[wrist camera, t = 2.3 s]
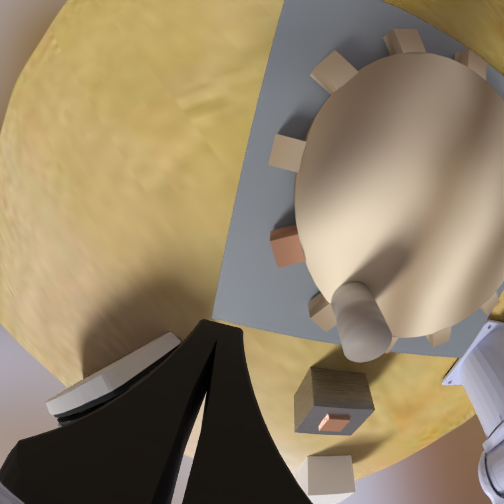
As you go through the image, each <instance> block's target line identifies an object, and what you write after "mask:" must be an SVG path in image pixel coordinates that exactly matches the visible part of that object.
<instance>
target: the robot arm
mask: <svg viewBox="0 0 504 504" xmlns="http://www.w3.org/2000/svg"><path fill="white" fill-rule="evenodd" d="M442 384H443V385H463V387H464V389H465V391H466V393H467V395H468V397H469V399H470V401H471V403H472V405H473V407H474V409H475V411H476V414H477V416H478V418H479V420H480V422H481V425H482V427H483V429H484V431H485V434H486V436H487V439H488V440H487V441H485V442H484V443H483V446H484V449H485V450H484V451H483V453H482V454H481V457H480V462H479V466H478V475H479V480H480V484H481V486H482V488H483V490H484V492H485V493H486V495H487V496H489V498H490V499H491V501H492V503H493V504H504V322H500V321H495V320H489V319H487V320H486V322H485V323H484V325H483V327H482V328H481V330H480V332H479V333H478V335H477V336H476V338H475V339H474V341H473V342H472V344H471V345H470V347H469V348H468V350H467V351H466V352H465V354H464V355H463V357H462V358H459V359H458V361H457V362H456V363H455V365H454V366H453V367H452V369H451V370H450V371H449V373H448V374H447V375H446V376H445V378H444V379H443V380H442ZM206 391H207V392H206ZM205 394H206V399H205V406H204V413H203V420H202V427H201V433H200V436H199V440H198V444H197V448H196V452H195V456H194V460H193V464H192V467H191V471H190V475H189V479H188V483H187V487H186V491H185V494H184V498H183V502H182V504H313V503H312V502H311V500H310V499H309V498H308V496H307V495H306V494H305V492H304V491H303V490H302V488H301V487H300V485H299V484H298V483H297V481H296V479H295V478H294V476H293V475H292V473H291V471H290V470H289V468H288V467H287V465H286V463H285V462H284V460H283V458H282V457H281V455H280V453H279V451H278V449H277V447H276V445H275V443H274V441H273V439H272V437H271V435H270V433H269V431H268V429H267V426H266V424H265V422H264V419H263V417H262V414H261V411H260V409H259V406H258V403H257V400H256V397H255V394H254V391H253V387H252V384H251V380H250V376H249V372H248V368H247V363H246V358H245V352H244V343H243V331H242V329H241V328H238V327H233V326H229V325H225V324H221V323H217V322H213V321H209V320H205V319H203V320H200V321H199V323H198V324H197V325H196V327H195V328H194V329H193V331H192V332H191V333H190V334H189V335H188V337H187V338H186V339H185V340H184V341H183V342H182V343H181V344H180V345H179V346H178V347H177V348H176V349H175V350H174V351H173V352H172V353H171V354H170V355H169V356H168V357H167V358H166V359H165V360H164V361H163V362H162V363H161V364H160V365H159V366H158V367H156V368H155V369H154V370H153V371H152V372H151V373H149V374H148V375H147V376H146V377H145V378H143V379H142V380H141V381H140V382H138V383H137V384H136V385H134V386H133V387H132V388H130V389H129V390H127V391H126V392H125V393H123V394H122V395H120V396H119V397H117V398H115V399H114V400H112V401H111V402H109V403H107V404H106V405H104V406H102V407H101V408H99V409H97V410H95V411H94V412H92V413H90V414H88V415H86V416H84V417H81V418H79V419H77V420H75V421H73V422H71V423H68V424H66V425H64V426H62V427H59V428H57V429H54V430H51V431H48V432H45V433H42V434H39V435H36V436H32V437H29V438H26V439H22V440H20V441H18V443H17V444H16V446H15V447H14V448H13V449H12V450H11V452H10V453H9V455H8V457H7V458H6V460H5V462H4V464H3V466H2V467H1V469H0V504H171V500H172V497H173V493H174V489H175V485H176V481H177V477H178V473H179V469H180V465H181V462H182V458H183V454H184V451H185V448H186V445H187V442H188V439H189V436H190V434H191V431H192V428H193V426H194V423H195V421H196V418H197V415H198V413H199V410H200V407H201V405H202V402H203V399H204V397H205Z"/></svg>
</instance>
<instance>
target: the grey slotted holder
mask: <svg viewBox="0 0 504 504" xmlns="http://www.w3.org/2000/svg"><path fill="white" fill-rule="evenodd" d="M180 343H181V341H180V340H179V339H178V338H177V337H176V336H175V335H174V334H173V333H171V332H170V331H169V332H168V333H166V334H164V335H162V336H161V337H159V338H157V339H155V340H154V341H152V342H150V343H148V344H146V345H145V346H143V347H141V348H139V349H137V350H136V351H134V352H132V353H130V354H128V355H127V356H125V357H123V358H121V359H119V360H118V361H116V362H114V363H112V364H110V365H108V366H107V367H105V368H103V369H101V370H99V371H97V372H96V373H94V374H92V375H90V376H88V377H86V378H84V379H83V380H81V381H79V382H78V383H76V384H74V385H73V386H71V387H69V388H68V389H66V390H64V391H63V392H61V393H60V394H58V395H56V396H54V397H53V398H51V399H49V400H48V401H46V402H45V403H46V406H47V408H48V410H49V412H50V414H52V415H54V416H55V417H57V418H58V419H57V420H58V422H59V423H58V426H59V427H62V426H64V425H66V424H68V423H71V422H73V421H75V420H77V419H79V418H81V417H84V416H86V415H88V414H90V413H92V412H94V411H95V410H97V409H99V408H101V407H102V406H104V405H106V404H107V403H109V402H111V401H112V400H114V399H115V398H117V397H119V396H120V395H122V394H123V393H125V392H126V391H127V390H129V389H130V388H132V387H133V386H134V385H136V384H137V383H138V382H140V381H141V380H142V379H143V378H145V377H146V376H147V375H148V374H149V373H151V372H152V371H153V370H154V369H155V368H156V367H158V366H159V365H160V364H161V363H162V362H163V361H164V360H165V359H166V358H167V357H168V356H169V355H170V354H171V353H172V352H173V351H174V350H175V349H176V348H177V347H178V346H177V345H179V344H180Z"/></svg>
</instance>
